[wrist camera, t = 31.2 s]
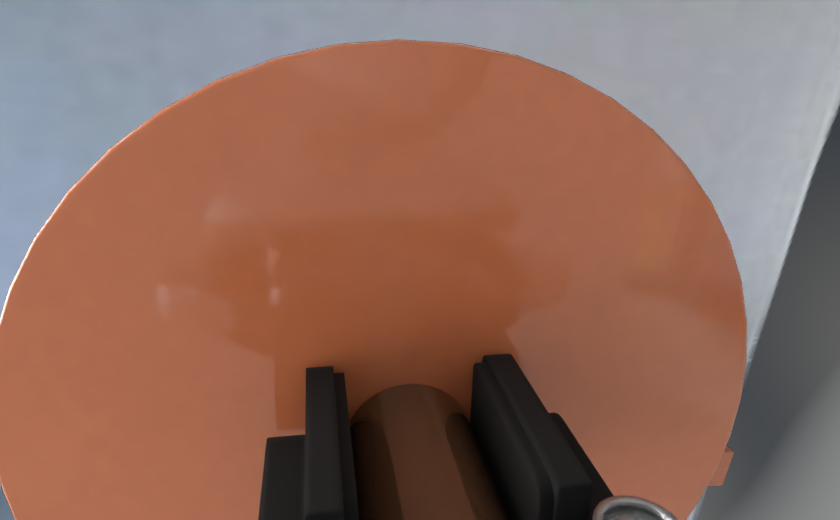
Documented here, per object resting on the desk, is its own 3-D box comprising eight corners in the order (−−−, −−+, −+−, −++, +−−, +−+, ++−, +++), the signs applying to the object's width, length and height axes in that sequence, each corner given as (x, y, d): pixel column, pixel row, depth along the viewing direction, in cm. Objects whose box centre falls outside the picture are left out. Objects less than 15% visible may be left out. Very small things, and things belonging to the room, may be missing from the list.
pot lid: (-30, -22, 9) (-445, -93, 4) (802, 90, 13) (1150, 129, 7) (48, 675, 14) (-96, 1031, 9) (628, 631, 18) (761, 880, 12)
